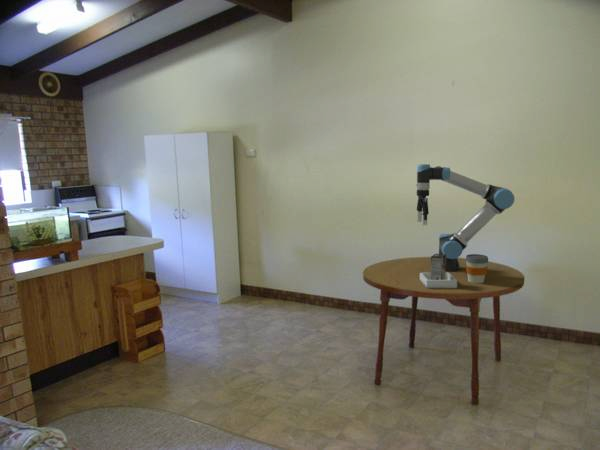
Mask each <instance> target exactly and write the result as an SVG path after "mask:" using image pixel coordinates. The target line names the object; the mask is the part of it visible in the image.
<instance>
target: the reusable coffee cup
mask: <svg viewBox="0 0 600 450" xmlns="http://www.w3.org/2000/svg"><path fill="white" fill-rule="evenodd" d="M465 263H466V265H465V270H466V271H465V272H466V275H467V281H468V282H469V283H473V284H483V283H484V282H485V278H486V275H487V272H488V267H489V266H488V263H489V257H488V256H487V255H484V254H479V253H472V254H470V253H469V254H467V255H466V256H465Z"/></svg>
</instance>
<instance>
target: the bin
mask: <svg viewBox="0 0 600 450" xmlns="http://www.w3.org/2000/svg"><path fill="white" fill-rule="evenodd" d="M430 279H431V272H419V281H420V282H421V284H423V286H424V288H426V289H457V288H458V279H456V277H454V276H453V275H452V274H451V273H450V272H449V271H446V274H445V280H430Z"/></svg>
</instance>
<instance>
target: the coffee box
mask: <svg viewBox="0 0 600 450" xmlns="http://www.w3.org/2000/svg"><path fill="white" fill-rule="evenodd" d="M446 272H447V271H446V255H445V254H439V253H434V254H433V255H431V256H430V273H431V279H430V280H445V274H446Z"/></svg>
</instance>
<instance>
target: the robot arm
mask: <svg viewBox="0 0 600 450" xmlns="http://www.w3.org/2000/svg"><path fill="white" fill-rule="evenodd" d="M433 180H436V181H437V180H438V181H440V180H441V181H443V182H445V183H448V184H451V185H453V186H455V187H458V188H460V189H463V190H466V191H468V192H470V193H473V194H475V195H477V196H480V197H481V198H482V199H484V200H485V204H484V206H482V207H481V208H480V209H479V210H478V211H477V212H476V213H475V214H474V215H473V216H472V217H471V218H470V219H469V220H468V221H467V222H466V223H465V224H464V225H463V226H462V227H461V228H460V229H459V230H458V231H457V232H452V233H441V234H439V237H438V240H439V241H438V242H439V244H438V254H445V255H446V272H456V271H460V267H461V265H460V262H459V257H461V255H462V254H463V251H465V249H466V248H467V247H468V242H470V240H471V239H473V237H475V235H477V234H478V233H479V232H480V231H481V230H482V228H484V227H485V226H486V225H487V224H488V223H489V222H490V221H491V220H492V219H493V218H494V217H495V216H497V215H501V214H502V213H503V212H504V211H505V210H507V209H509V208H511V207H513V205H514V202H515V195H514V193H513V192H512V190H510V189H508V188H505V187H503V186H501V187H500V186H496V185H493V184H490V183H487V184H485V183H483V182H480V181H478V180H475V179H474V178H469V177H467V176H465V175H463V174H460V173H457V172H454V171H452V170H451V168H450V167H446V166H445V167H444V166H443V167H442V166H440V165H437V166H435V167H433V166H431V165H430V164H428V163H423V164H422V163H421V164H418V165H417V170H416V185H415V186H416V189H417V190H416V196H417V203H416V210H417V214H416V215H417V218H416V219H417V220H416V221H417V223H421V222H422V226H428V215H429V213H430V212H429V204H428V203H429V200H428V198H427V197H428V196H430V181H433Z"/></svg>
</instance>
